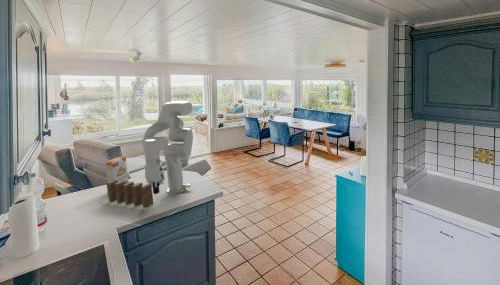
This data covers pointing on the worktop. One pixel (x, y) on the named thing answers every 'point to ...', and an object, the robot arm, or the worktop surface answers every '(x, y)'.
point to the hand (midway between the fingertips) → (156, 193)
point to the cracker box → (117, 169)
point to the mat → (155, 203)
